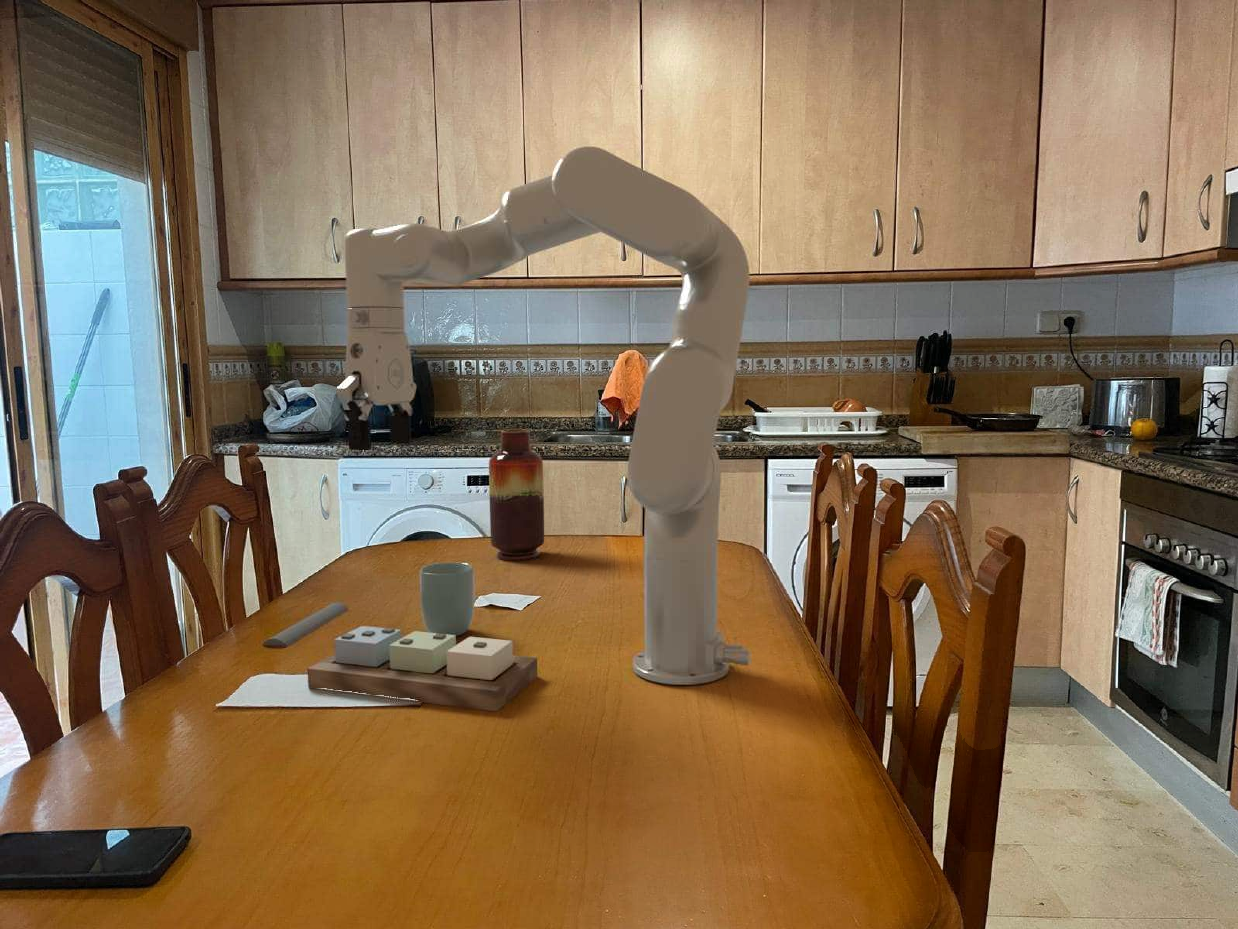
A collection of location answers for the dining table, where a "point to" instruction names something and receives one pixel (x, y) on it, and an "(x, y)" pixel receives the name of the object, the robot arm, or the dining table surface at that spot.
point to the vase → (516, 498)
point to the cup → (447, 597)
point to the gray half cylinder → (307, 625)
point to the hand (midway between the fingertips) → (381, 446)
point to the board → (425, 683)
